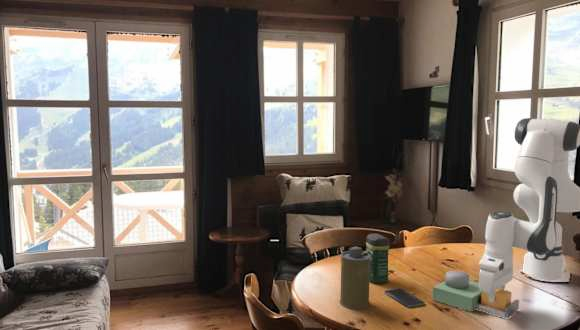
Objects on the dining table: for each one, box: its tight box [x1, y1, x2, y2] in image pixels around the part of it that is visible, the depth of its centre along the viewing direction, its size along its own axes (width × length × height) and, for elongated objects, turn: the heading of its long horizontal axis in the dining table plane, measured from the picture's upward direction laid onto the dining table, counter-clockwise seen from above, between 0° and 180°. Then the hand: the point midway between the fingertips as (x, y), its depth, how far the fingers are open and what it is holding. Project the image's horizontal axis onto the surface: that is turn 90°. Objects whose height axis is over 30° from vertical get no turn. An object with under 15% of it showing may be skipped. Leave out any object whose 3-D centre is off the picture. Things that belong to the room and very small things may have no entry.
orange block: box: [481, 289, 512, 311], centre depth 156 cm, size 5×8×6 cm, turn 45°
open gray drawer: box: [475, 298, 520, 320], centre depth 156 cm, size 10×11×4 cm
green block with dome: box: [432, 270, 482, 312], centre depth 165 cm, size 16×14×9 cm
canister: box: [339, 245, 371, 310], centre depth 161 cm, size 11×10×20 cm
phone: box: [383, 288, 426, 309], centre depth 166 cm, size 8×1×15 cm
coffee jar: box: [365, 233, 390, 284], centre depth 184 cm, size 10×8×19 cm
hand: (495, 299), depth 156 cm, fingers open, 5 cm apart
